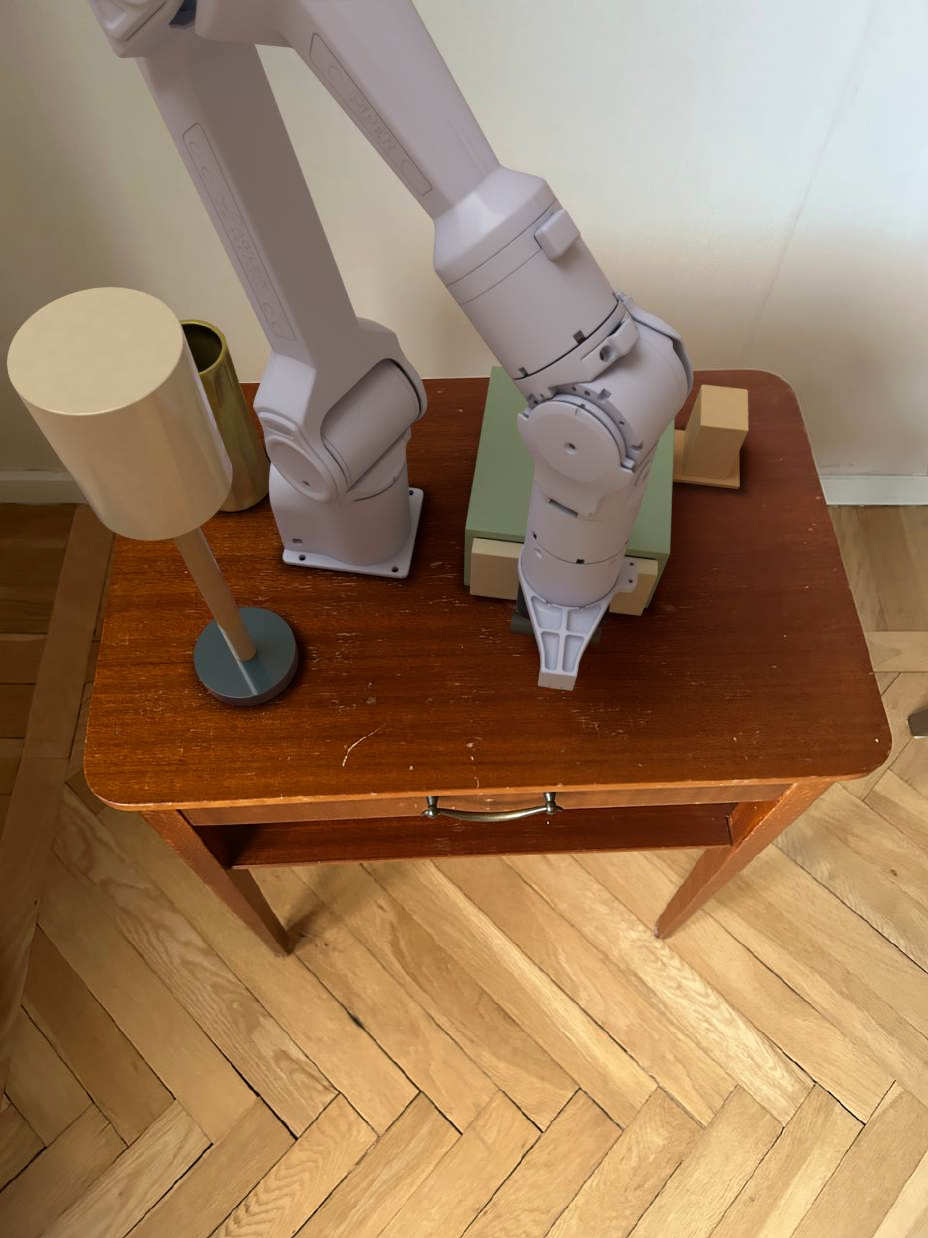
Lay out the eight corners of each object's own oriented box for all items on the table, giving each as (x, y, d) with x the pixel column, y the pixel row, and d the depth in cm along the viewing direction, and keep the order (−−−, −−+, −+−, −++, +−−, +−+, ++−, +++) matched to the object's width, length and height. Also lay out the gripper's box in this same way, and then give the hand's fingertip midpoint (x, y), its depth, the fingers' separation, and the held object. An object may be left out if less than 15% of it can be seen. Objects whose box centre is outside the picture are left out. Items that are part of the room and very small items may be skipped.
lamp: (187, 699, 61) (-22, 403, 34) (214, 610, 64) (43, 277, 37) (286, 712, 60) (153, 424, 34) (308, 623, 63) (204, 295, 37)
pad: (662, 480, 70) (663, 477, 69) (664, 431, 72) (665, 428, 72) (738, 489, 69) (739, 486, 69) (737, 439, 72) (739, 436, 71)
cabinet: (647, 608, 64) (670, 553, 57) (463, 585, 65) (465, 528, 58) (654, 451, 71) (676, 386, 64) (488, 432, 72) (492, 365, 65)
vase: (260, 519, 67) (215, 390, 55) (184, 505, 68) (122, 375, 55) (283, 457, 70) (246, 321, 58) (210, 444, 71) (157, 307, 58)
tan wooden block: (681, 474, 69) (700, 424, 64) (683, 435, 71) (701, 383, 66) (726, 480, 69) (749, 430, 64) (726, 440, 71) (748, 388, 66)
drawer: (638, 670, 61) (655, 633, 56) (461, 647, 62) (462, 608, 56) (648, 466, 69) (664, 417, 64) (492, 448, 70) (495, 398, 65)
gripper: (647, 647, 44) (605, 745, 56) (658, 429, 51) (618, 557, 63) (508, 628, 44) (495, 729, 56) (538, 414, 51) (520, 544, 63)
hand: (553, 637), depth 60 cm, fingers closed, pressing on drawer
